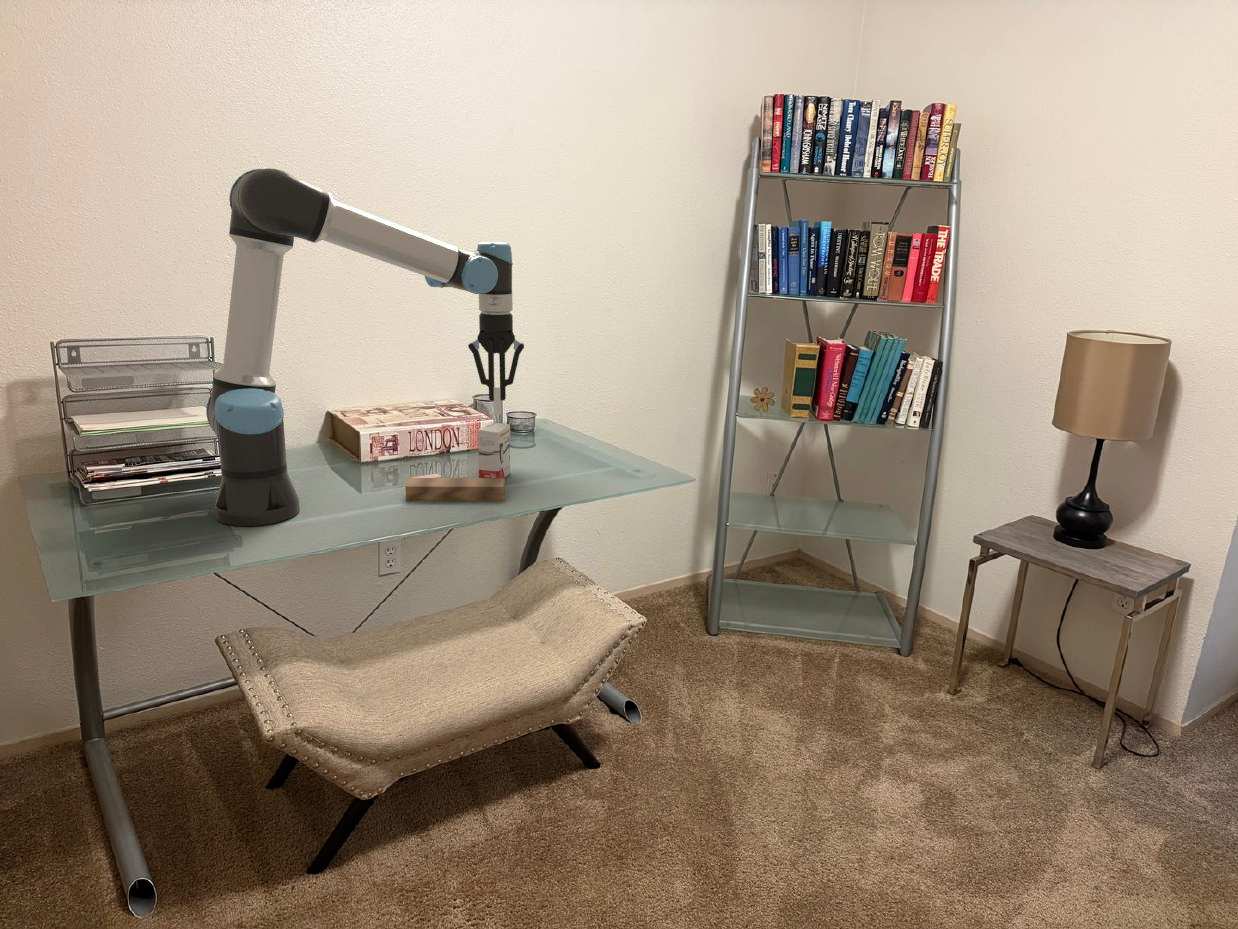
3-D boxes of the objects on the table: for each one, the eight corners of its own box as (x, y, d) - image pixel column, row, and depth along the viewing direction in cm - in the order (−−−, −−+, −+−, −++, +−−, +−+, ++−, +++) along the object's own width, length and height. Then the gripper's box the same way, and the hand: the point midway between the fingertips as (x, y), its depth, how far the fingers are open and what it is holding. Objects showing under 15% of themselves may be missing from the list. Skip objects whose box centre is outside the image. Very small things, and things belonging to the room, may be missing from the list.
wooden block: (405, 500, 178) (405, 486, 177) (409, 491, 184) (409, 477, 183) (503, 500, 180) (503, 486, 179) (504, 491, 186) (504, 478, 185)
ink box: (498, 483, 191) (498, 432, 188) (477, 481, 192) (477, 430, 189) (511, 472, 199) (511, 423, 196) (491, 471, 200) (490, 421, 197)
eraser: (416, 489, 186) (415, 480, 186) (411, 486, 188) (411, 477, 188) (442, 485, 190) (441, 476, 189) (437, 482, 192) (437, 473, 191)
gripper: (465, 314, 192) (468, 417, 198) (524, 314, 193) (525, 417, 200) (467, 310, 199) (470, 410, 205) (524, 310, 200) (525, 410, 207)
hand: (497, 413), depth 203 cm, fingers closed
